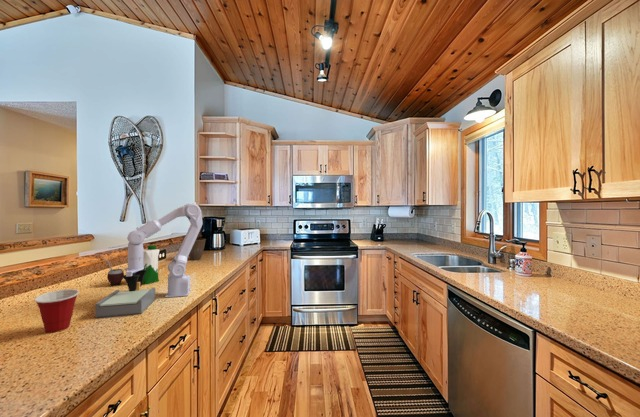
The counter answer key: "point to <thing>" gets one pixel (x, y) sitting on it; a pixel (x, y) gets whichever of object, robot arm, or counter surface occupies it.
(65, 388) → the counter surface
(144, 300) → the parts tub
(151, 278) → the milk carton
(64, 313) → the plastic cup
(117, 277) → the mate gourd
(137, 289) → the lid
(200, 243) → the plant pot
